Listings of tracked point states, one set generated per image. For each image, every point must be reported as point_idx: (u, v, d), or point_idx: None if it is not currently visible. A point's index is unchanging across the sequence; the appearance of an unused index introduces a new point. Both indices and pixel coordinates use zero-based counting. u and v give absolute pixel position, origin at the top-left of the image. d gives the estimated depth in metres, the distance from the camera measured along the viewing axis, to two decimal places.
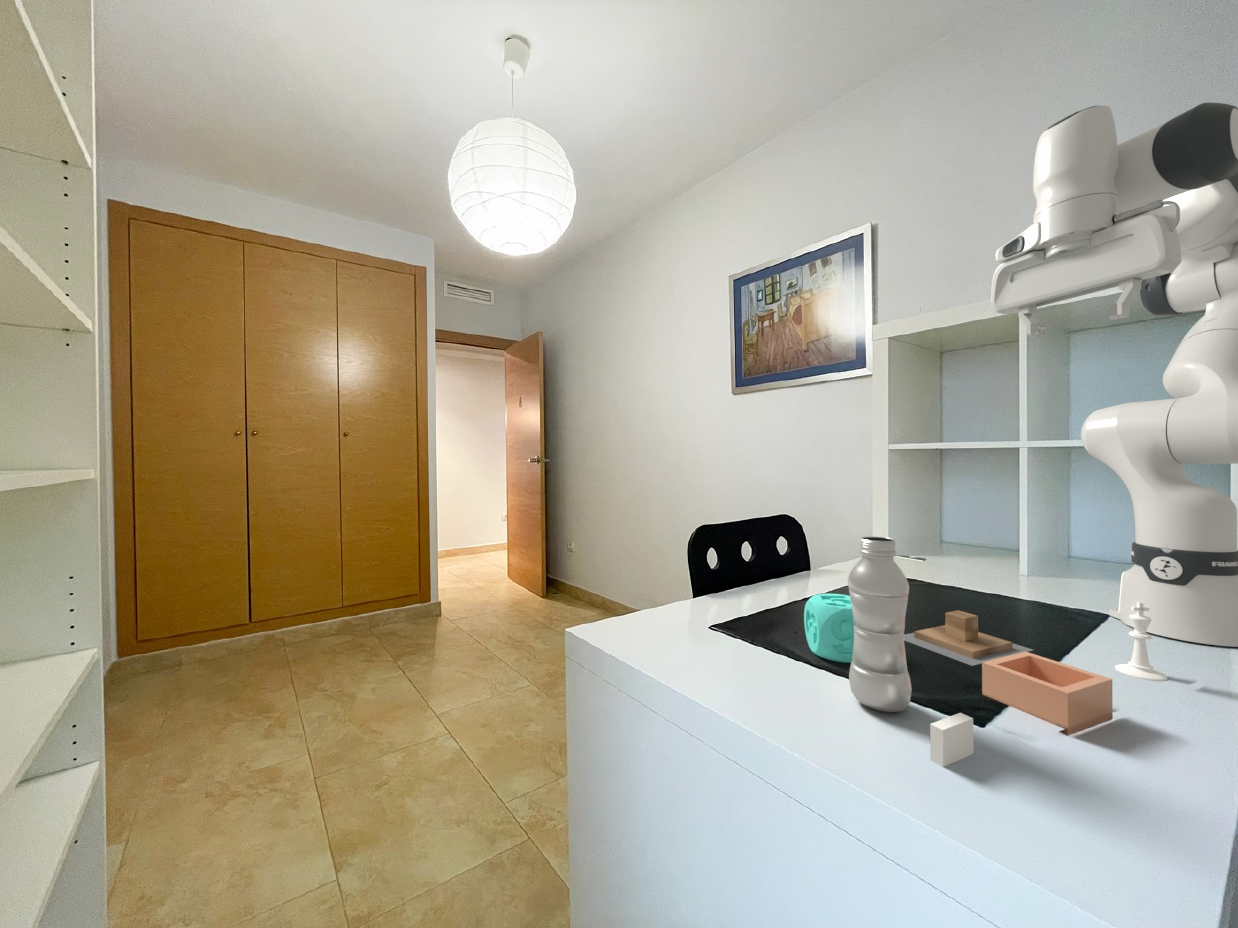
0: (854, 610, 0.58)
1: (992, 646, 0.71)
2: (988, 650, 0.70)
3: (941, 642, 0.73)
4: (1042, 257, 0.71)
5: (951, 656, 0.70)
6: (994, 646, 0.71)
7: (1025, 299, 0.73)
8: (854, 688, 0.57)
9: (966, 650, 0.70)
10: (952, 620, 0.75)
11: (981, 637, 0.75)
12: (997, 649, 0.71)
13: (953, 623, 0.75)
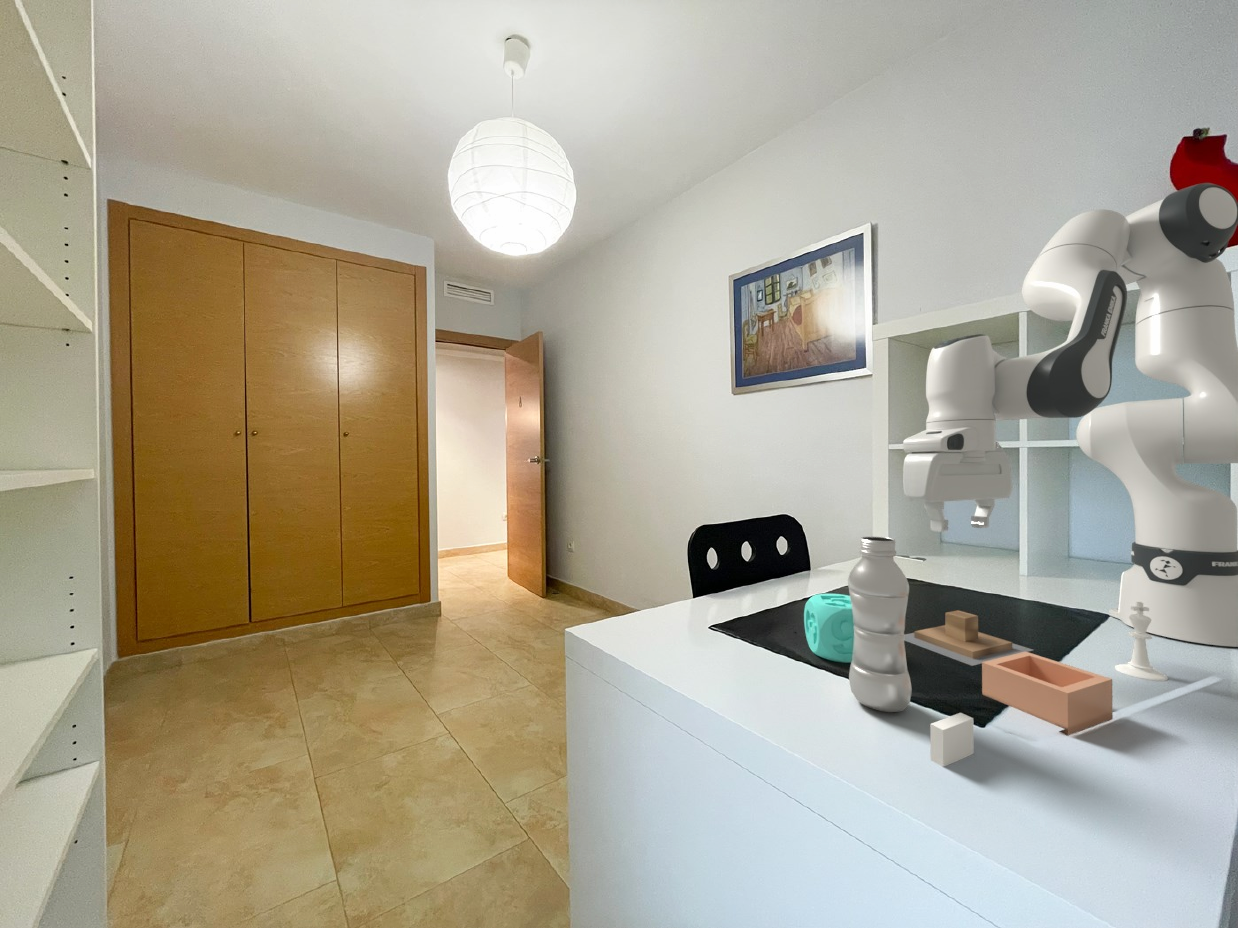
0: (854, 610, 0.58)
1: (992, 646, 0.71)
2: (988, 650, 0.70)
3: (941, 642, 0.73)
4: (960, 459, 0.72)
5: (951, 656, 0.70)
6: (994, 646, 0.71)
7: (949, 496, 0.71)
8: (854, 688, 0.57)
9: (966, 650, 0.70)
10: (952, 620, 0.75)
11: (981, 637, 0.75)
12: (997, 649, 0.71)
13: (953, 623, 0.75)
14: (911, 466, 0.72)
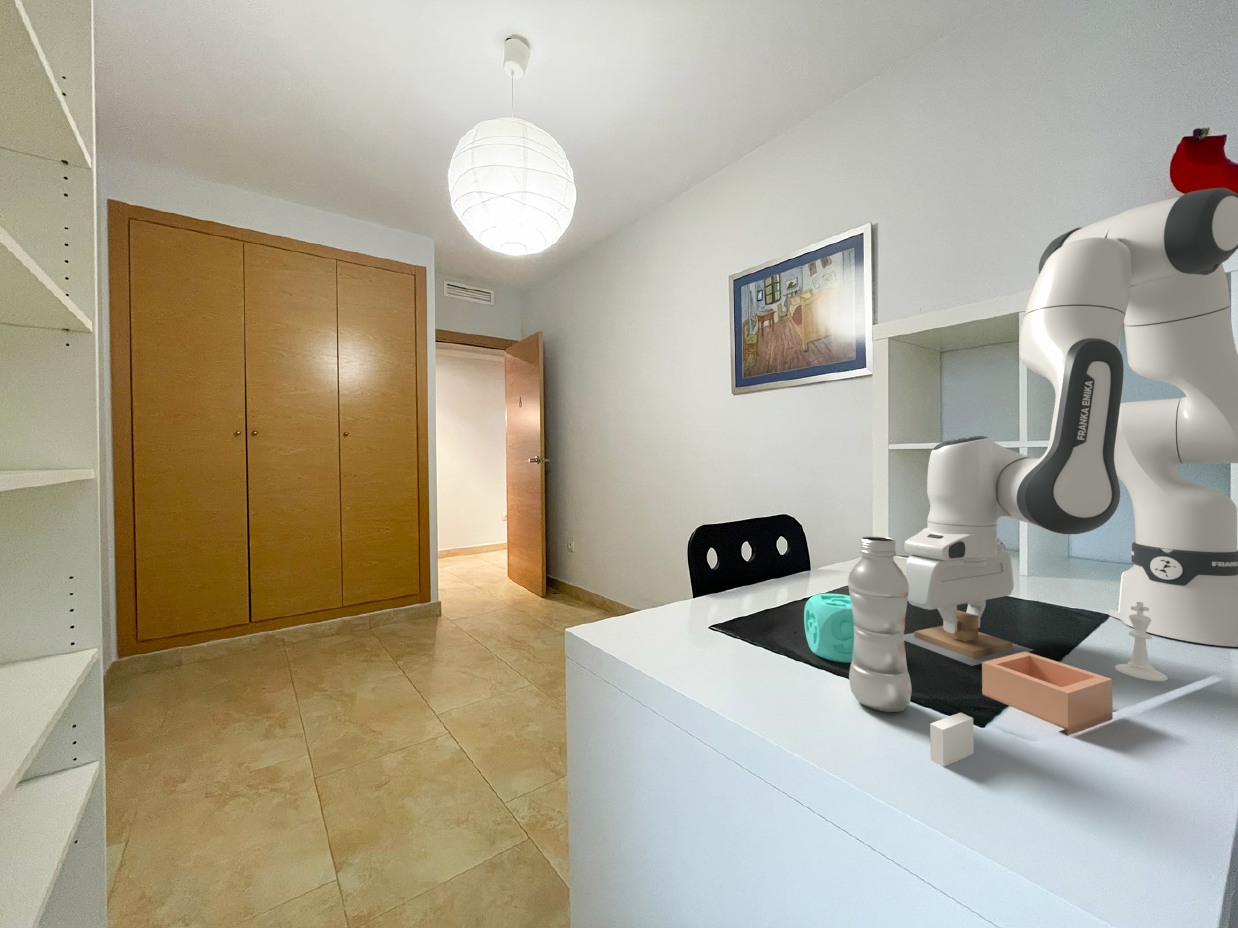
0: (854, 610, 0.58)
1: (992, 646, 0.71)
2: (988, 650, 0.70)
3: (941, 642, 0.73)
4: None
5: (951, 656, 0.70)
6: (994, 646, 0.71)
7: (951, 602, 0.71)
8: (854, 688, 0.57)
9: (966, 650, 0.70)
10: None
11: (981, 637, 0.75)
12: (997, 649, 0.71)
13: None
14: (913, 571, 0.72)
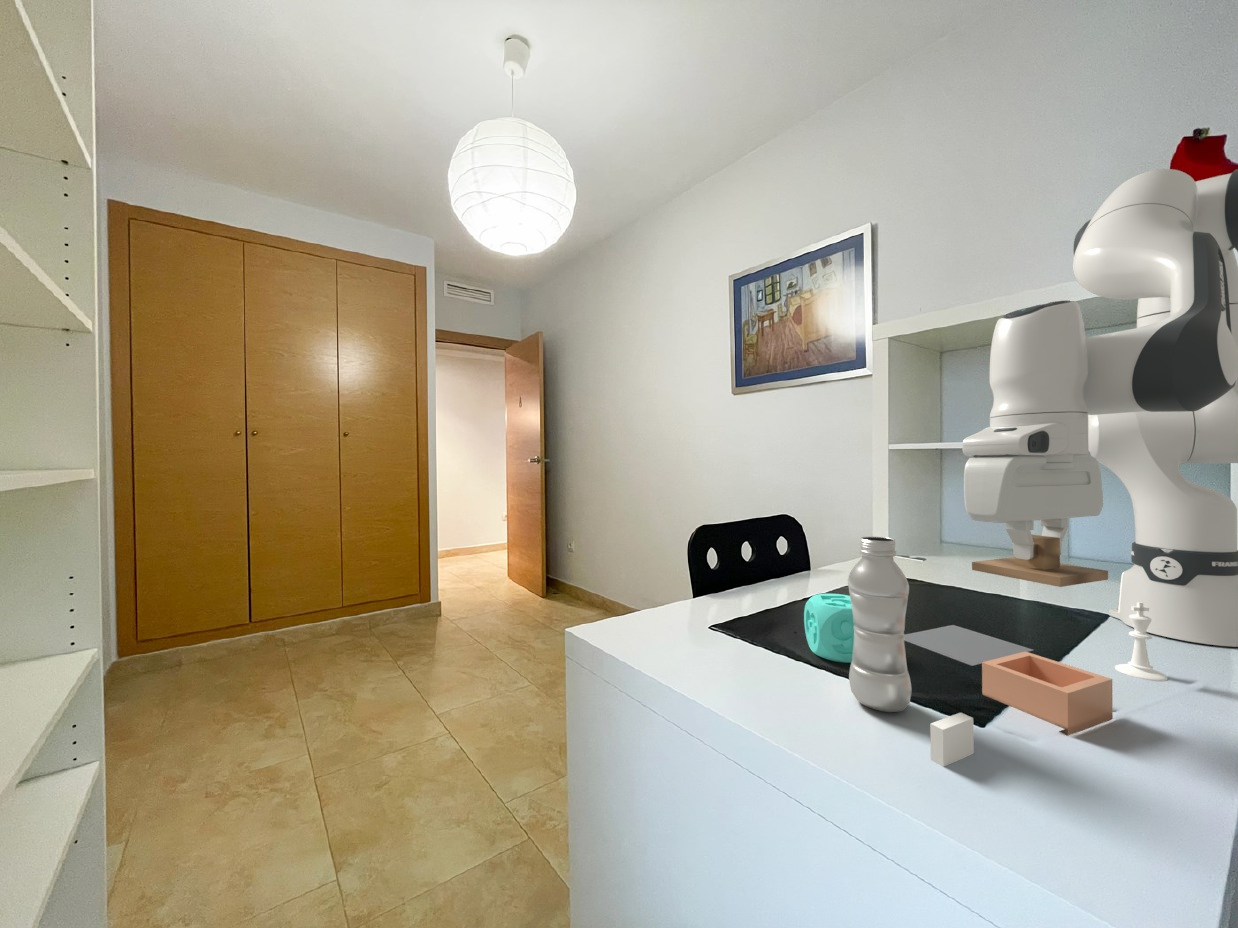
0: (854, 610, 0.58)
1: (1083, 573, 0.53)
2: (1079, 578, 0.52)
3: (1012, 571, 0.56)
4: None
5: (951, 656, 0.70)
6: (1086, 573, 0.53)
7: (1028, 515, 0.53)
8: (854, 688, 0.57)
9: (1049, 577, 0.52)
10: None
11: (1062, 566, 0.57)
12: (1090, 577, 0.53)
13: None
14: (976, 474, 0.54)
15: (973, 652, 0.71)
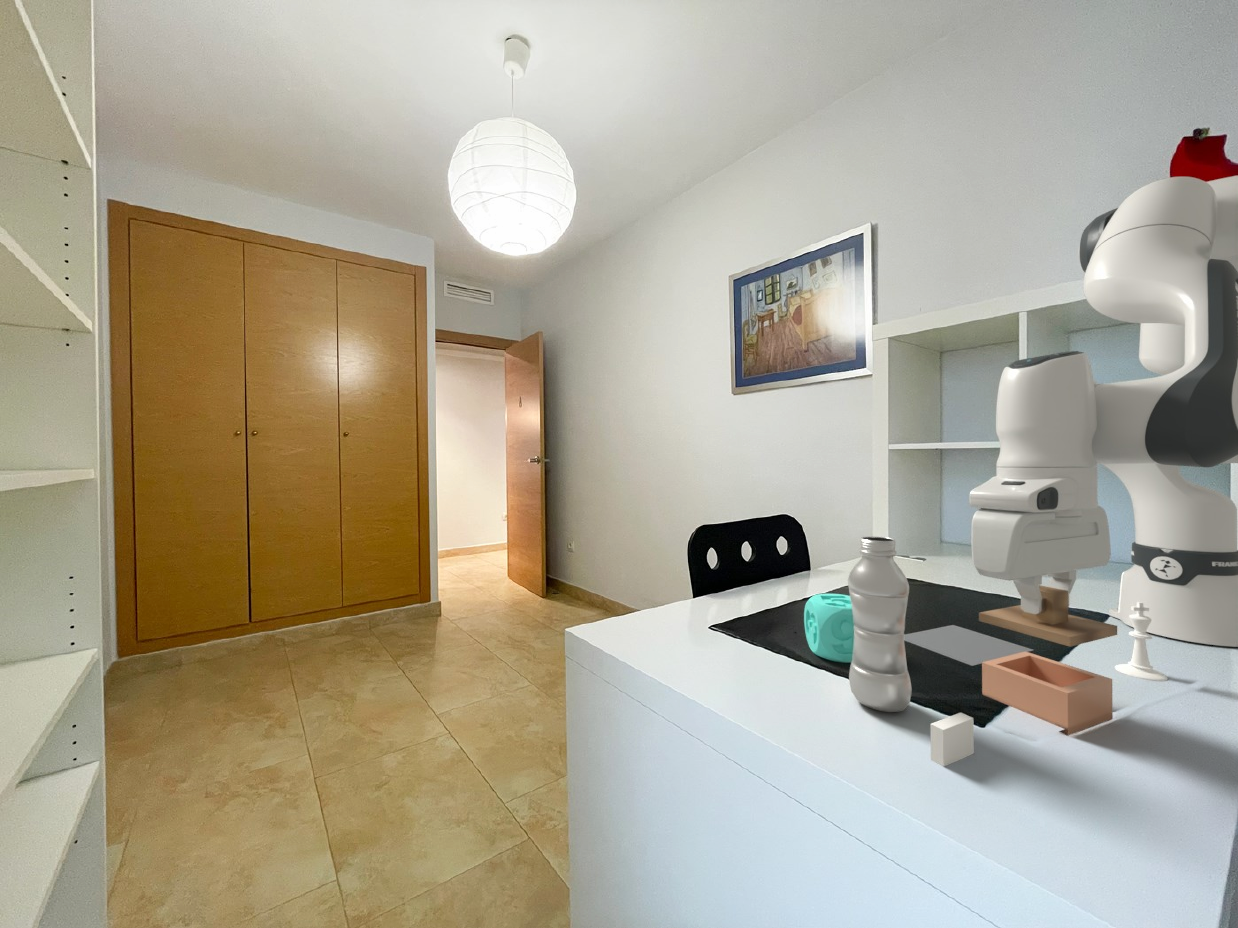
0: (854, 610, 0.58)
1: (1093, 630, 0.52)
2: (1089, 636, 0.52)
3: (1020, 626, 0.55)
4: None
5: (951, 656, 0.70)
6: (1095, 630, 0.52)
7: (1036, 571, 0.53)
8: (854, 688, 0.57)
9: (1059, 635, 0.51)
10: None
11: (1071, 619, 0.56)
12: (1099, 634, 0.52)
13: None
14: (984, 529, 0.53)
15: (973, 652, 0.71)
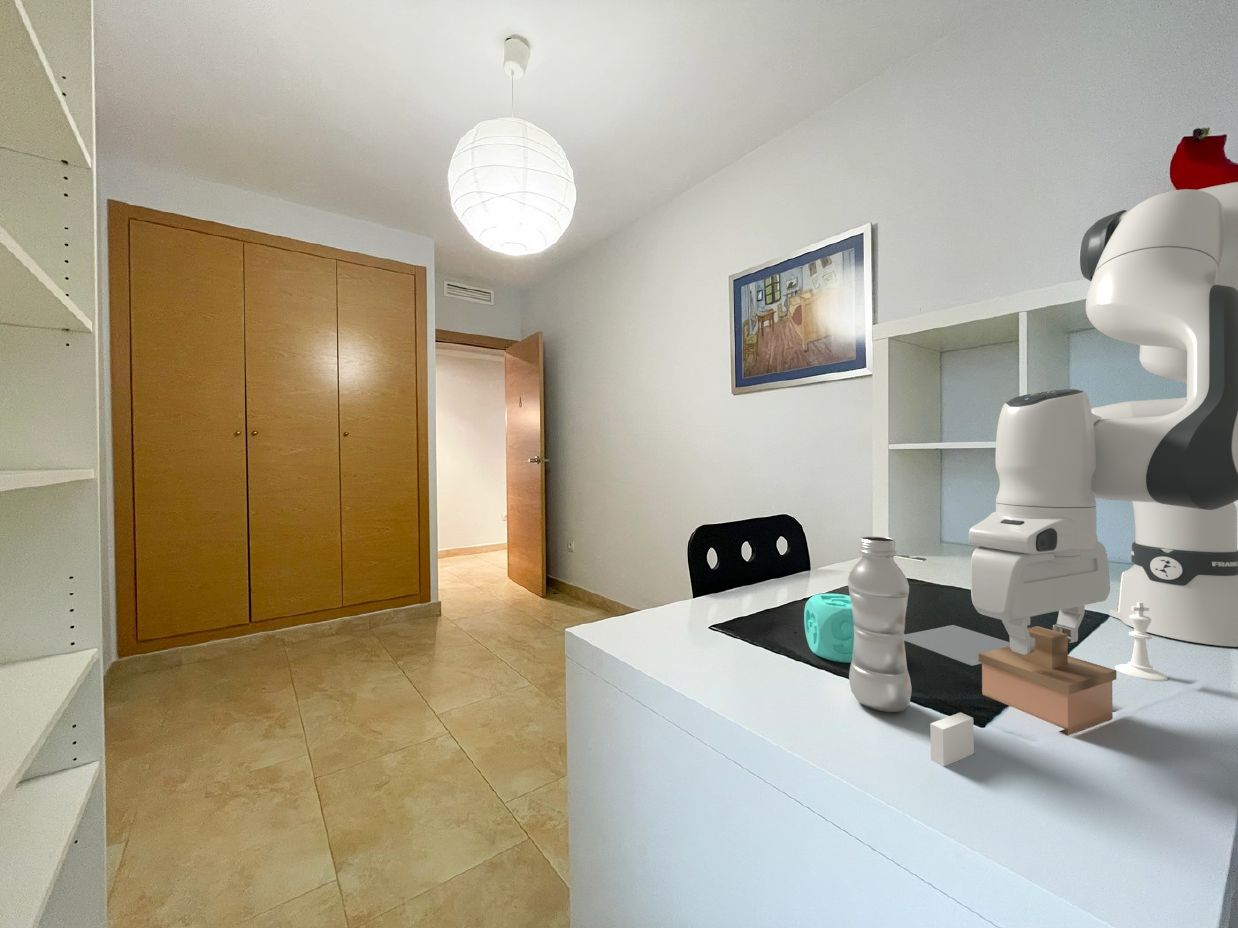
0: (854, 610, 0.58)
1: (1092, 676, 0.53)
2: (1088, 683, 0.52)
3: (1019, 670, 0.55)
4: None
5: (951, 656, 0.70)
6: (1094, 676, 0.53)
7: (1035, 610, 0.53)
8: (854, 688, 0.57)
9: (1058, 683, 0.52)
10: None
11: (1070, 662, 0.56)
12: (1098, 680, 0.53)
13: None
14: (983, 568, 0.54)
15: (973, 652, 0.71)
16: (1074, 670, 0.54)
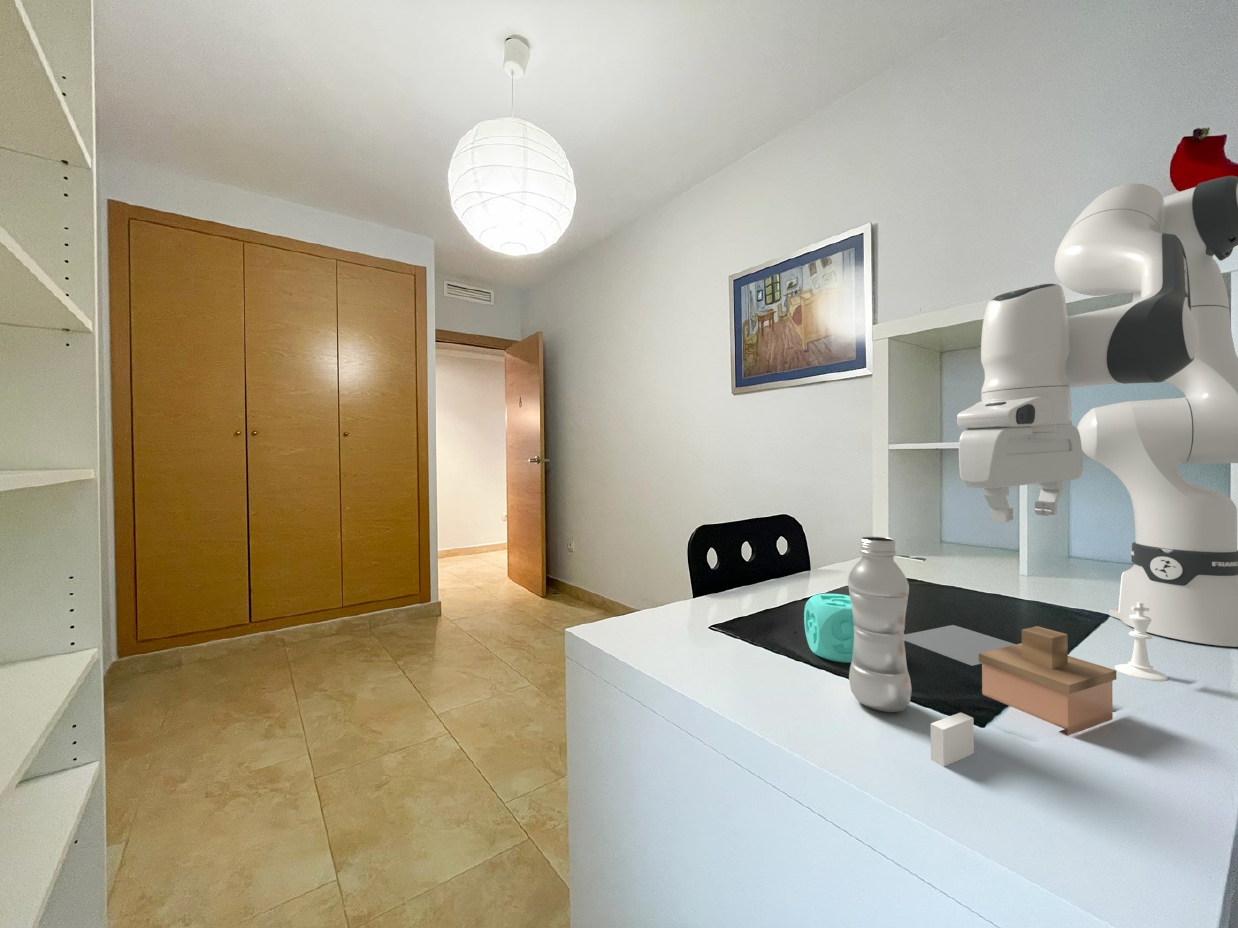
0: (854, 610, 0.58)
1: (1092, 676, 0.53)
2: (1088, 683, 0.52)
3: (1019, 670, 0.55)
4: None
5: (951, 656, 0.70)
6: (1094, 676, 0.53)
7: (1016, 480, 0.59)
8: (854, 688, 0.57)
9: (1058, 683, 0.52)
10: (1032, 639, 0.56)
11: (1070, 662, 0.56)
12: (1098, 680, 0.53)
13: (1033, 644, 0.56)
14: (969, 445, 0.60)
15: (973, 652, 0.71)
16: (1074, 670, 0.54)
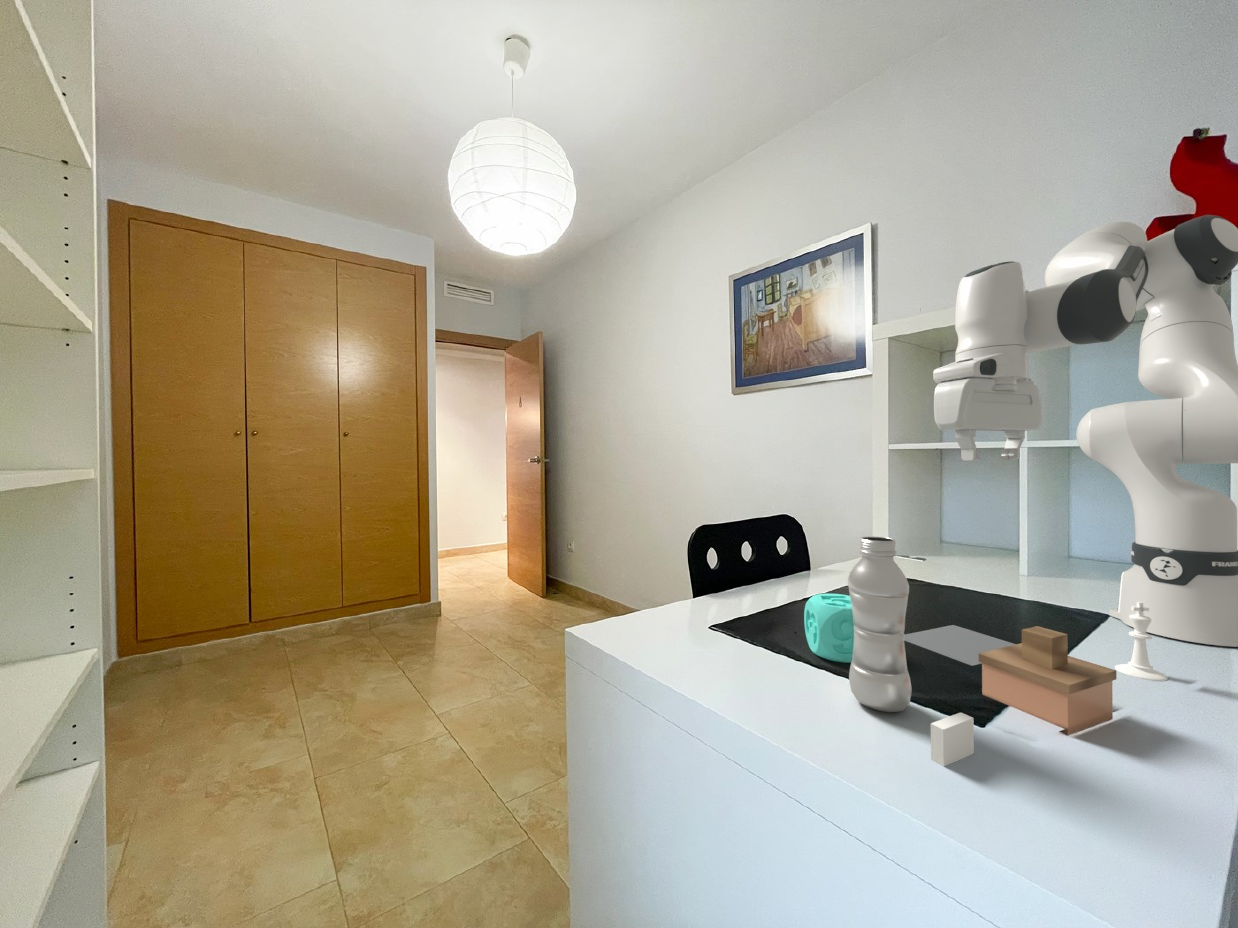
0: (854, 610, 0.58)
1: (1092, 676, 0.53)
2: (1088, 683, 0.52)
3: (1019, 670, 0.55)
4: (991, 387, 0.71)
5: (951, 656, 0.70)
6: (1094, 676, 0.53)
7: (981, 424, 0.71)
8: (854, 688, 0.57)
9: (1058, 683, 0.52)
10: (1032, 639, 0.56)
11: (1070, 662, 0.56)
12: (1098, 680, 0.53)
13: (1033, 644, 0.56)
14: (942, 394, 0.72)
15: (973, 652, 0.71)
16: (1074, 670, 0.54)
